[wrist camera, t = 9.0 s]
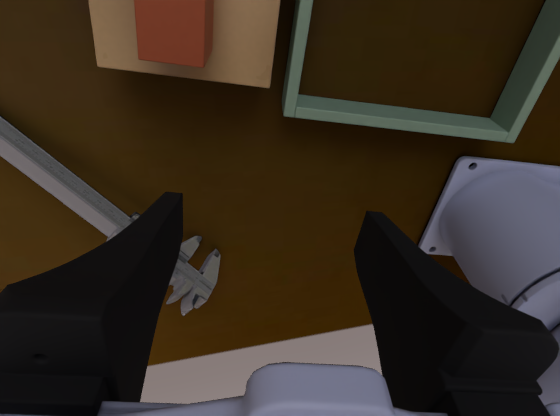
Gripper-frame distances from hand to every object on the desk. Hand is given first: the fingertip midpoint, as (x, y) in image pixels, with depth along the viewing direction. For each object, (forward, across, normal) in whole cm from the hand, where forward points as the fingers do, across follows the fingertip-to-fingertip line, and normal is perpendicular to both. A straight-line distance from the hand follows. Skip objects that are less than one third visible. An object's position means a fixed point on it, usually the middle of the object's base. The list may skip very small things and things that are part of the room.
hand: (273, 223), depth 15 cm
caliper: (+10, +11, +4) cm, 15 cm away
